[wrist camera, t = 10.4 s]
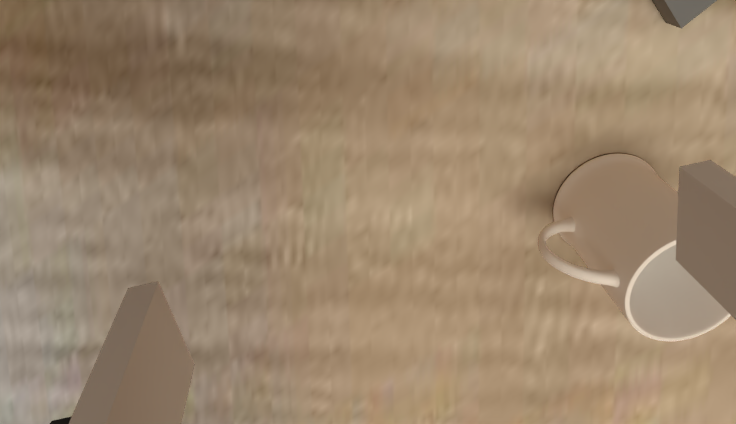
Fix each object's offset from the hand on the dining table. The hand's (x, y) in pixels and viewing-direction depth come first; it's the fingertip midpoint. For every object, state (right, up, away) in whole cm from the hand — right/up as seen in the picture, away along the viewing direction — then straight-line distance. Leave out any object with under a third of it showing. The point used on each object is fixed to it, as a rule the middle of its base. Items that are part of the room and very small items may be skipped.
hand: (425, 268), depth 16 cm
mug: (+16, +2, +33) cm, 37 cm away
